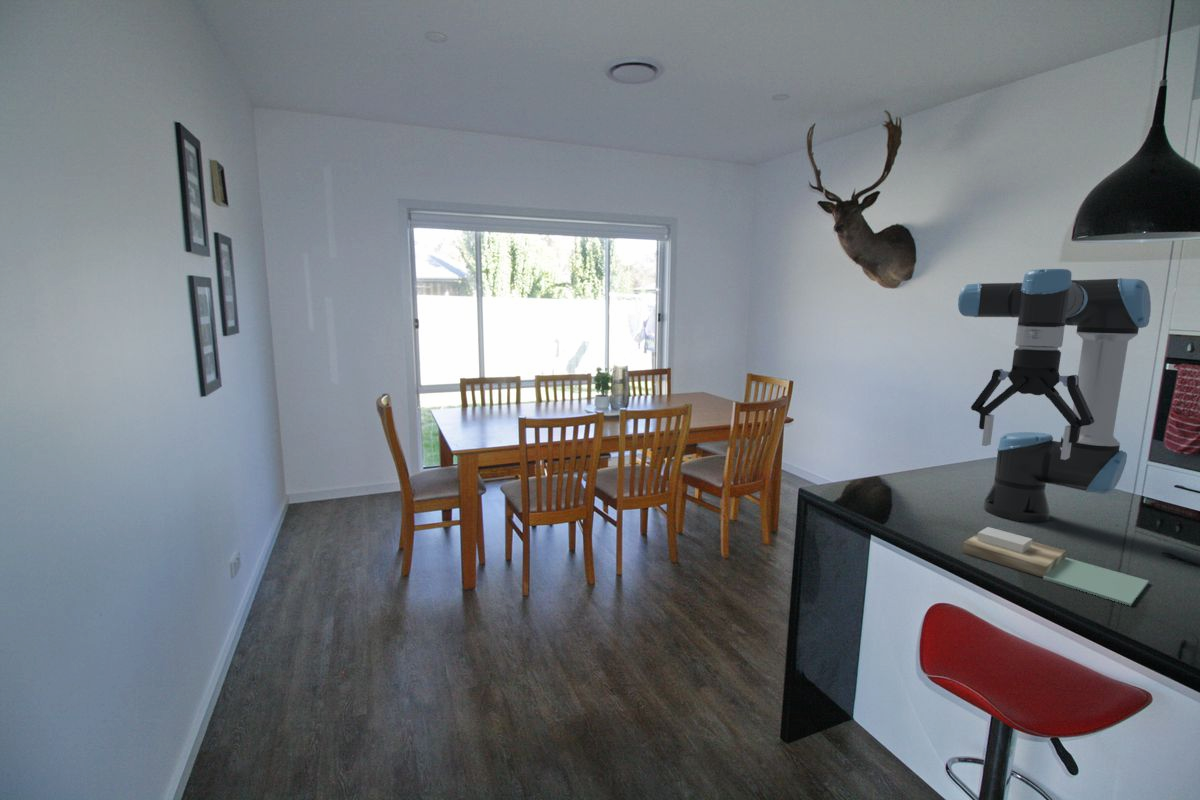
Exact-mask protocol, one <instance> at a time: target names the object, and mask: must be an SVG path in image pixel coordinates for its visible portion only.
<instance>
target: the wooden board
mask: <svg viewBox="0 0 1200 800" xmlns="http://www.w3.org/2000/svg"><path fill="white" fill-rule="evenodd" d="M977 538H978V533H977V534H975V535H973V536H971V537H970V538H968V539H966V540H965V541H963V543H962V550H961V552H962V553H964V554H967V555H969V556H973V557H976V558H980V559H981V560H984V561H985V560H986V561H990V562H993V563H995V564H999V565H1001V566H1006V567H1008V568H1012V569H1015V570H1018V571H1021V572H1025V573H1028V574H1031V575H1034V576H1037V577H1041V578H1043V576H1044V575H1046V574H1047V573H1048V572H1049V571H1050V570H1052V569H1053V568H1054V567H1055V566H1056V565H1058V564H1059V563H1060V562H1061V561H1062V560H1064V559H1065V558H1066V553H1067V552H1066V551H1067V550H1065V549H1060V548H1056V547H1052V546H1050V545H1046V544H1043V543H1039V542H1035V541H1032V544H1031V547H1030V548H1029V549H1027V550H1026V551H1025V552H1023V553H1019V552H1015V551H1012V550H1009V549H1005V548H1002V547H998V546H995V545H991V544H988V543H984V542H981V541H978V540H977Z"/></svg>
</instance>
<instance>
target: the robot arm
mask: <svg viewBox="0 0 1200 800" xmlns="http://www.w3.org/2000/svg"><path fill="white" fill-rule="evenodd" d="M1072 275H1073V274H1072V271H1071V269H1067V268H1066V269H1065V268H1042V269H1040V268H1039V269H1038V268H1037V269H1030V270H1028V271H1026V272H1025V273H1024V276H1023V280H1022V282H995V283H994V282H993V283H989V282H988V283H981V282H978V283H969V284H966V285H964V286H962V288H961V290H960V292H959V295H958V300H957V301H958V302H957V308H958V311H959V313H960V314H961V315H962V316H963V317H969V318H971V317H972V318H1018V320H1017V325H1016V333H1015V342H1014V345H1015V346H1016V347H1017V346H1018V347H1017V348H1015V349H1013V357H1012V365H1011V369H1010V371H1007V370H1004V369H1003V368H997V369H994V370H993V371H992V374H991V379H990V380H989V381H988V382H987V385H986V386H985V387H984V388H983V390H982V391H981V392H980V394H978V397H977V398H976V399H975V401H974V402H973V403H972V404H971V406H970V410H971V411H975V412H977V413H979V415H980V416H979V424H978V428H979V429H980V430H983V431H982V432H983V434H982V440H981V446H983V447H987V446H990V445H992V444H991V443H992V437H993V429H994V428H993V427H994V420H995V414H992V412H993V411H994V410H996V409H997V408H998V407H999V406H1000V405H1002V404H1003V403H1005V401H1007V400H1008V399H1009V398H1011V397H1012V396H1013V395H1015V394H1016V393H1020V394H1023V395H1026V394H1027V395H1028V394H1031V395H1034V396H1042V395H1044V396H1045V397H1046V399H1048V400H1049V401H1050V402H1051V403H1052V405H1053V406H1054V407H1055V408H1056V410H1058V412H1059V413H1060V414H1061V415H1062V417H1063V418H1064V420H1066V421H1067V423H1068V425H1065V426H1064V430H1063V431H1064V432H1063V435H1061V437H1060V441H1057V440H1054V437H1053V435H1052V434H1050V433H1044V432H1032V431H1031V432H1027V431H1022V432H1020V431H1019V432H1009V433H1006V434H1003V435H1001V437H1000V438H999V444H998V448H997V455H996V465H995V472H994V480H993V484H992V486H991V488H990V489H989V491H988V493H987V494H986V496H985V498H984V502H983V509H984V510H985V511H986V512H988V513H990V514H992V515H994V516H997V517H1000V518H1004V519H1008V520H1011V521H1012V520H1013V521H1017V522H1025V523H1044V522H1048V521H1049V520H1050V516H1051V509H1050V506H1049V502H1048V498H1047V494H1046V484H1050V485H1054V486H1059V487H1065V488H1070V489H1074V490H1078V491H1084V492H1086V493H1096V494H1101V495H1108V494H1110V493H1112V492H1113V491H1114V490H1115V489H1116V487H1117V485H1118V484H1119V482H1120V479H1121V477H1122V476H1123V472H1124V471H1125V466H1126V465H1127V457H1128V453H1127V452H1126V451H1124V450H1121V449H1120V447H1121V442H1120V441H1119V440H1118V439H1116V437H1114V432H1115V426H1116V420H1117V414H1118V408H1119V407H1118V406H1119V401H1120V395H1121V388H1122V383H1123V377H1124V370H1125V364H1126V363H1125V362H1126V356H1127V351H1128V346H1129V342H1130V340H1132V339H1133V338H1135V337H1137V336H1138V335H1139V329H1142V328H1146V327H1147V326H1148V325H1149V323H1150V317H1151V312H1152V310H1151V309H1152V308H1151V307H1152V306H1151V305H1152V303H1151V293H1150V290H1149V286H1148V284H1147V282H1145V281H1144V280H1143V279H1140V278H1139V279H1137V278H1122V277H1121V278H1107V279H1106V278H1101V279H1098V278H1097V279H1072ZM1065 326H1075V327H1077V328H1076V332H1075V333H1076V334H1077V335H1078V336H1079V337H1080V338H1081V340H1082V345H1081V350H1080V357H1079V366H1078V373H1077V374H1072V375H1060V373H1059V372H1060V370H1059V369H1060V365H1061V363H1060V362H1061V355H1062V352H1061V351H1060V350H1059V348H1061V347H1063V343H1064V334H1065ZM1006 378H1008V379H1009V381H1010V382H1011V385H1009V386H1008V387H1007V388H1006V389H1005V390H1004V391H1002V393H1000V394H999V395H998V396H996V398H994V399H993V400H991V401H990V402H989V403H988V404H986V402H987V401H988V400H989V398H990V397H991V396H992V394H994V392H995V390H996V389H997V388H998V387H999V385H1000V383H1001V382H1002V381H1004V380H1006ZM1060 382H1061V383H1062V385H1063V386H1064V387H1066V388H1067V391H1068V394H1069V396H1070V398H1071V400H1072V403H1073V407H1072V408H1071V407H1070V406H1069V405H1068V403H1067V402H1066V401H1065V400H1064V399H1063V397H1062V396H1061V394H1060V392H1059V391H1058V390H1057V389H1056V386H1057V384H1059V383H1060ZM985 404H986V405H985Z"/></svg>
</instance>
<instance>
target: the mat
mask: <svg viewBox="0 0 1200 800" xmlns="http://www.w3.org/2000/svg"><path fill="white" fill-rule="evenodd" d="M1042 580H1044V581H1048V582H1050V583H1054V584H1057V585H1061V586H1063V587H1067V588H1070V589H1073V590H1076V589H1077V591H1079V590H1080V591H1079V592H1082V591H1083V592H1084V593H1086V592H1087V593H1086V594H1090V595H1092V594H1093V596H1095V595H1096V596H1095V597H1098V596H1099V598H1102V599H1106V600H1108V599H1109V601H1111V600H1112V602H1114V601H1115V603H1118V602H1119V603H1118V604H1121V603H1122V605H1124V604H1125V606H1127V605H1129V606H1128V607H1132V605H1133V604H1134V602H1135V601H1136V600H1137V599H1138V598H1139V596H1140V595H1141V593H1142V592H1143V591H1144V590H1145V588H1146V587H1147V586H1148V584H1149V580H1147V579H1144V578H1141V577H1137V576H1133V575H1129V574H1126V573H1123V572H1119V571H1115V570H1111V569H1108V568H1104V567H1102V566H1097V565H1095V564H1090V563H1086V562H1084V561H1080V560H1076V559H1072V558H1069V557H1065V559H1064V560H1062V561H1061V562H1060V563H1059V564H1058V565H1056V566H1055V567H1054V568H1053V569H1052V570H1050V571H1049V572H1048V573H1047V574H1046V575H1044V576H1043V577H1042ZM1136 598H1137V599H1136Z"/></svg>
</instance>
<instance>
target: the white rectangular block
mask: <svg viewBox="0 0 1200 800" xmlns="http://www.w3.org/2000/svg"><path fill="white" fill-rule="evenodd" d="M977 534H978V538H977V540H978V541H981V542H984V543H988V544H991V545H995V546H998V547H1002V548H1005V549H1009V550H1012V551H1015V552H1019V553H1023V552H1025V551H1026V550H1027V549H1029V548H1030V547H1031V544H1032V542H1033V538H1031V537H1027V536H1023V535H1019V534H1016V533H1013V532H1009V531H1006V530H1001V529H997V528H995V527H994V528H993V527H990V526H987V527H985V528H983V529H982V530H980V531H978V532H977Z"/></svg>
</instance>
